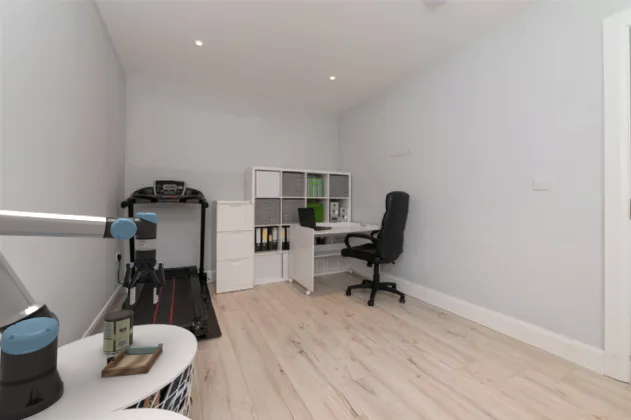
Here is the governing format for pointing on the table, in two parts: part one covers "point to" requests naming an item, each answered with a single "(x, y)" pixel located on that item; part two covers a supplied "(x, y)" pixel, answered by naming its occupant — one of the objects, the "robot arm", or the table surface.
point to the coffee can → (118, 331)
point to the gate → (142, 349)
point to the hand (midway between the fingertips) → (144, 303)
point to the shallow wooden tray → (130, 364)
